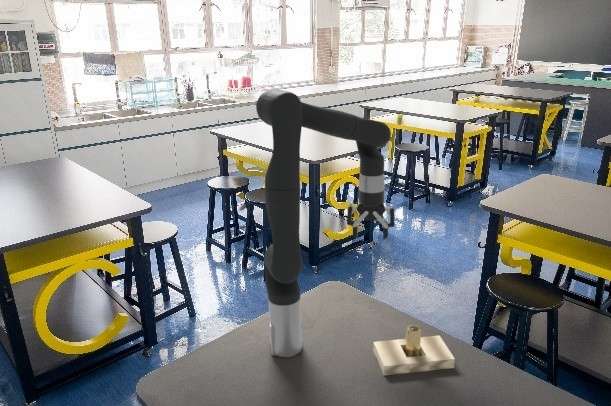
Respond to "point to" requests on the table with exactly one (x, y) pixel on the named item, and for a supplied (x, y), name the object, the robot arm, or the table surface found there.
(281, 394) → the table surface
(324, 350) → the table surface
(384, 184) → the robot arm
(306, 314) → the table surface
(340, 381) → the table surface
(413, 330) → the bushing
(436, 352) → the jig
